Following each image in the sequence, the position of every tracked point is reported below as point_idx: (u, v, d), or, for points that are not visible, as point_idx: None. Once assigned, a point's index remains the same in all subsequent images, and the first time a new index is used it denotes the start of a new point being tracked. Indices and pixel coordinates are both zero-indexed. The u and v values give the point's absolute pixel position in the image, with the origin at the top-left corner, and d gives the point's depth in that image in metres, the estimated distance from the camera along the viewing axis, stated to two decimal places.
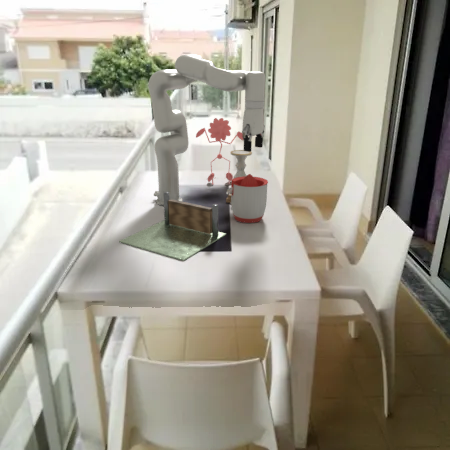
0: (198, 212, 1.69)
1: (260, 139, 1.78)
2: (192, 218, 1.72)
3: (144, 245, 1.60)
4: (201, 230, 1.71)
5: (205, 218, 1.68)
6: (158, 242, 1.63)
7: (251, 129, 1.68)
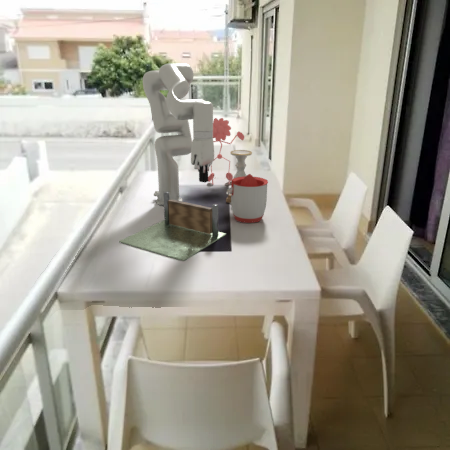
0: (198, 212, 1.69)
1: None
2: (192, 218, 1.72)
3: (144, 245, 1.60)
4: (201, 230, 1.71)
5: (205, 218, 1.68)
6: (158, 242, 1.63)
7: (199, 160, 1.65)
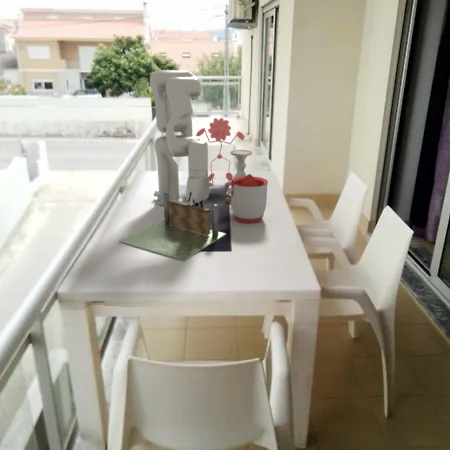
0: (196, 213, 1.68)
1: None
2: (190, 219, 1.71)
3: (144, 245, 1.60)
4: (199, 231, 1.70)
5: (202, 219, 1.67)
6: (158, 242, 1.63)
7: (194, 197, 1.67)
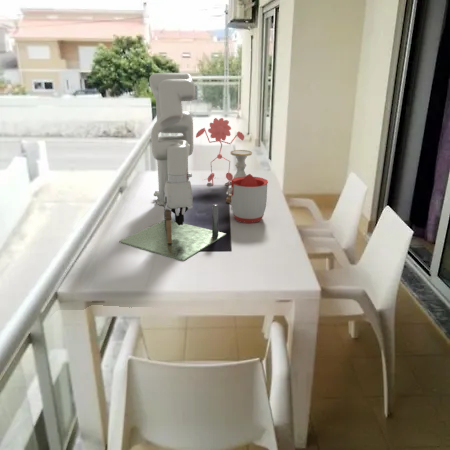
0: None
1: (180, 216, 1.66)
2: None
3: (144, 245, 1.60)
4: None
5: None
6: (158, 242, 1.63)
7: (167, 202, 1.61)
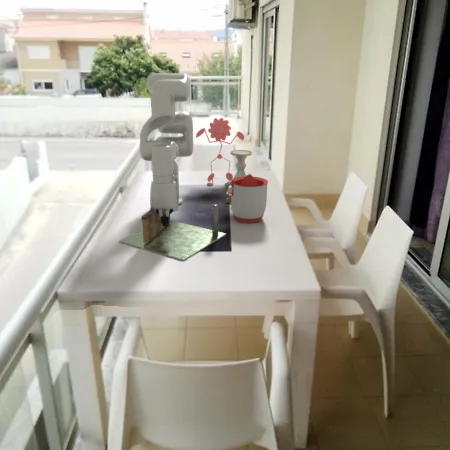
0: None
1: (164, 218, 1.65)
2: None
3: (144, 245, 1.60)
4: None
5: None
6: (158, 242, 1.63)
7: (150, 202, 1.62)
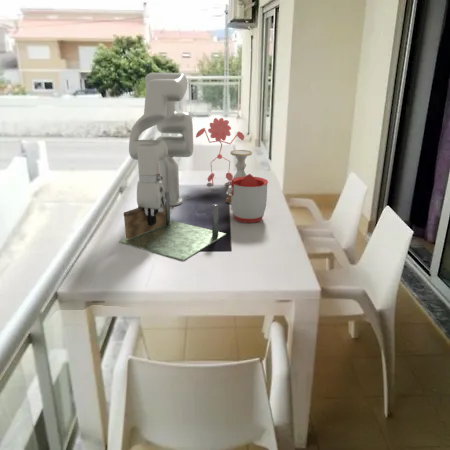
0: None
1: None
2: None
3: (144, 245, 1.60)
4: None
5: None
6: (158, 242, 1.63)
7: None
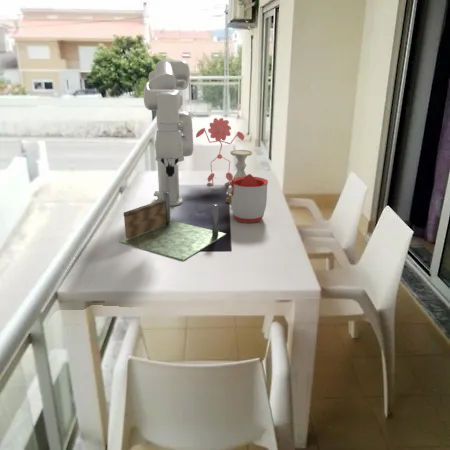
0: None
1: None
2: None
3: (144, 245, 1.60)
4: None
5: None
6: (158, 242, 1.63)
7: None
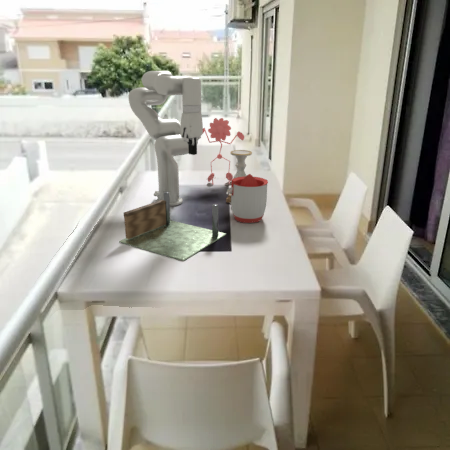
0: None
1: None
2: None
3: (144, 245, 1.60)
4: None
5: None
6: (158, 242, 1.63)
7: (188, 132, 1.75)
